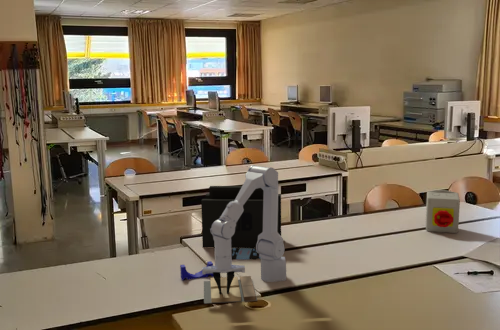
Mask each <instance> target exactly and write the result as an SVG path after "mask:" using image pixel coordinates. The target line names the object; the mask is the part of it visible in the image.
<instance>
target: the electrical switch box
mask: <svg viewBox="0 0 500 330" xmlns="http://www.w3.org/2000/svg"><path fill="white" fill-rule="evenodd" d="M460 201H461V199H460V196H459V192H455V191H451V190H447V189H446V190H445V189H439V190H429V191H427V192H426V206H425V207H426V211H425V231H426V232H433V233H448V234H449V233H451V234H457V233H458V232H459V223H460V208H461V207H460V205H461V202H460Z"/></svg>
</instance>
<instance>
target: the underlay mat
mask: <svg viewBox="0 0 500 330" xmlns="http://www.w3.org/2000/svg"><path fill="white" fill-rule="evenodd" d="M238 283H239V289H240V294H241V301H228V302H227V303H238V302H239V303H240V302H243V303H244V302H245V301H244V298H243V293H242V288H241V282H240V279H238ZM252 283H253V287H254V286H255V285H254V282H253V280H252ZM254 291H255V295H256V300H248V301H247V302H257V301H258V297H257V294H256V289H255V287H254ZM218 303H221V304H222V303H223V304H224V302H211V281H210V280H204V281H203V304H218Z"/></svg>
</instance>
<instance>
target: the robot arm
mask: <svg viewBox="0 0 500 330" xmlns="http://www.w3.org/2000/svg"><path fill="white" fill-rule="evenodd" d="M241 186H242V188H241V189H240V191H239V193H238V195H237V197H236V199H235V201H232V202H229V204H228V205H227V207H226V209H225V210H224V212H223V213H222V215H221V216H220V218H219V219H218V220H217V221H214V222H213V224H212V226H211V229H210V231H211V234H212V235H213V240H214V244H215V248H214V265H213V266H209V267H206V266H202V268H201V270H202V274H208V273H213V276H212V278H214V279H215V281H216V283H217V286H218V289H219V294H221V277H222V276H221V274H226V277H227V294H229V289H230V286H231V283H232V280H233V278H234V277H235V273H246V267H245V264H244V265H243V264H242V265H241V264H239V265H237V264H233V263H232V262H233V259H232V252H231V249H232V248H231V237H232V236H233V235H234V233H235V227H236V222H237V221H238V219H239V218H240V216H241V214H242V213H243V211H244V209H243V205H244V204H245V202H246V201H247V200H248V198H249V197H250V195H251V194H252V193H253V191H254V190H255V189H258V188H261V189H263V191H264V195H263V232H262V233H261V234H260V235H258V241H257V244H256V251H257V253H259V257H261V259H260V281H263V282H266V283H267V282H268V283H274V282H284V281H287V260H286V256H284V253H285V245H284V238H283V236H282V235H281V236H280V234H279V233H278V232H277V225H278V194H279V172H278V171H277V170H276V169H275V168H274V167H270V166H269V167H267V166H260V165H255V164H252V165H250V166H249V167H248V169H247V172H246V173H245V180H244V182H243V183H242V185H241Z"/></svg>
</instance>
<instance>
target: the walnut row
mask: <svg viewBox="0 0 500 330" xmlns="http://www.w3.org/2000/svg"><path fill="white" fill-rule="evenodd" d="M239 280H240V282H241V288H242V293H243V298H244V301H243V302H249V301H248V300H256V297H257V294H256V295H255V293H256V290H255V291H254V289H255V287H253V285H254V282H253V283H252V281H253V279H252V276H251V275H248V276H247V275H245V276H239Z"/></svg>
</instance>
